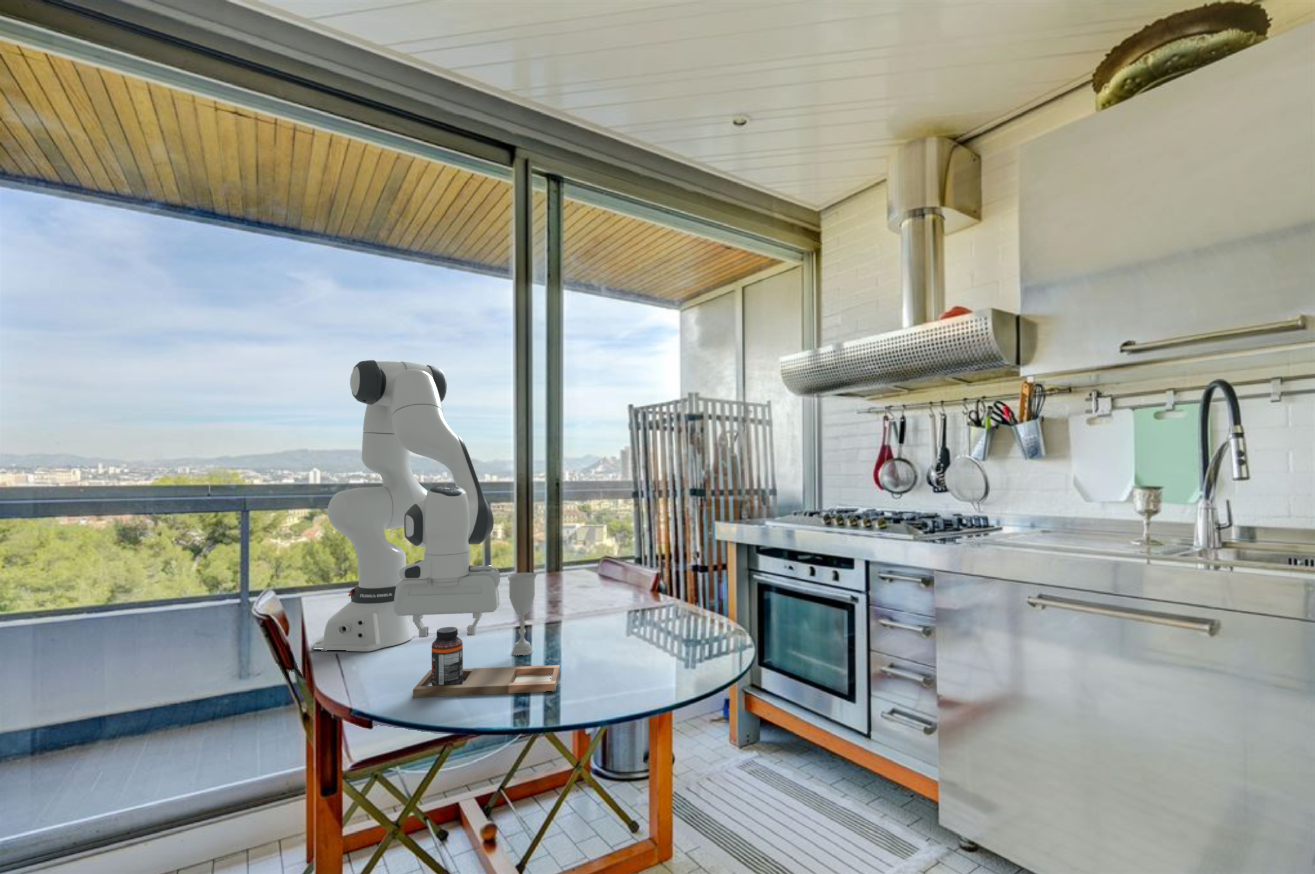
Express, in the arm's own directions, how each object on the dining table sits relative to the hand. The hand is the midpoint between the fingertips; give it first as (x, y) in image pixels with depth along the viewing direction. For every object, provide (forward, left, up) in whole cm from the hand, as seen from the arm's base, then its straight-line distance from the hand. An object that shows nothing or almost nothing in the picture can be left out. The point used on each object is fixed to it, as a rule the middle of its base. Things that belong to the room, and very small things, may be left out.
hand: (447, 635), depth 124 cm
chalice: (+12, +21, -10) cm, 26 cm away
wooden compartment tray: (+8, 0, -10) cm, 13 cm away
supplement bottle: (0, 0, -10) cm, 10 cm away
